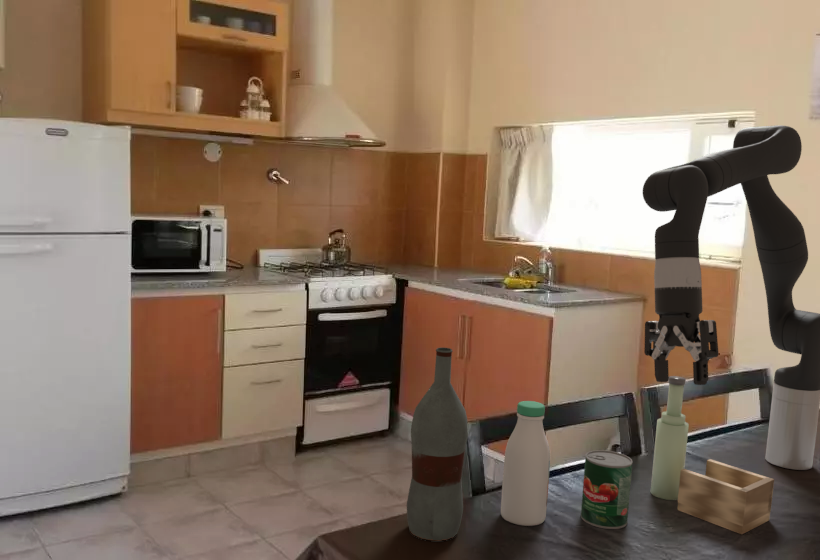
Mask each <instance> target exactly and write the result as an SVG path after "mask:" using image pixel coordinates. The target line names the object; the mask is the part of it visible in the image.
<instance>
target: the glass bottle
mask: <svg viewBox="0 0 820 560" xmlns="http://www.w3.org/2000/svg"><path fill="white" fill-rule="evenodd" d="M686 380H687V379H686V378H685V377H683V376H677V375H669V380H668V381H667V382H668V393H667V402H666V403H667V404H666V410H665V411H662V412H661V417H660V418H657V420H656V429H655V430H656V431H655V439H654V452H653V462H652V473H651V482H650V483H651V484H650V494H651V495H652V496H654V497H656V498H658V499H661V500H665V501H666V500H667V501H678V492H679V482H680V472H681V470H682V469H685V466H686V456H687V454H686V453H687V445H688V435H689V434H688V433H689V426H690V425H689V422H686V415H685V414H683V413H682V411H683V410H682V409H683V398H684V387H685V385H686Z"/></svg>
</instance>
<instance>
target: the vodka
mask: <svg viewBox="0 0 820 560" xmlns="http://www.w3.org/2000/svg"><path fill="white" fill-rule="evenodd" d="M435 353H436V354H435V363H434V365H435V366H434V378H433V379H434V380H433V383H432V384H431V386H430V387H429V388H428V390H427V391H426V393H425V394H424V395H423V397H422V398H421V399H420V401H419V402H418V404H417V405H416V407H415V409H414V412H413V414H412V415H413V416H412V421H411V427H410V437H411V438H410V440H411V441H410V443H411V479H410V485H409V489H408V494H407V500H406V517H407V524H408V529H409V532H410V531H411V532H412V533H413V534H415V535H416V536H419V537H422V538H426V539H433V540H442V539H448V538H451V537H454V536H455V535H456V534H457V535H458V532H459V529H460V526H461V522H462V518H463V517H462V516H463V512H464V499H463V487H462V485H463V484H462V476H463V469H464V461H465V454H466V446H467V441H468V436H469V431H468V430H469V429H468V427H469V426H468V425H469V424H468V417H467V412H466V409H465V406H464V405H463V403H462V401H461V399H460V397H459V396H458V393H457V392H456V390H455V388H454V387H453V385H452V383H451V382H452V381H451V376H452V357H453V356H452V355H453V349H452V348H450V347H437V348H436V349H435ZM457 535H456V536H457ZM456 536H455V537H456ZM455 537H454V538H455Z"/></svg>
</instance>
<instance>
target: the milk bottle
mask: <svg viewBox="0 0 820 560" xmlns="http://www.w3.org/2000/svg"><path fill="white" fill-rule="evenodd" d="M545 409H546V406H545V404H543V403H541V402H538V401H535V400H523V401H519V402H518V403H517V407H516V416H517V421H516V424H515V427H514V429H513V431H512V433H511V434H510V436H509V439H508V440H507V443H506V447H505V451H504V458H503V459H504V461H503V472H502V487H501V498H500V499H501V500H500V515H501V518H502V519H504V520H505V521H506V522H508V523H511V524H515V525H518V526H523V527H524V526H526V527H527V526H528V527H533V526H538V525H541V524H542V523H543V522H545V520H546V516H547V510H548V509H547V507H548V496H549V482H550V481H549V480H550V471H551V469H550V467H551V466H550V465H551V448H550V445H549V440H548V438H547V436H546V433H545V430H544V425H543V422H544V421H543V420H544V419H545V411H546V410H545Z"/></svg>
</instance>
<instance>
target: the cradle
mask: <svg viewBox="0 0 820 560" xmlns="http://www.w3.org/2000/svg"><path fill="white" fill-rule="evenodd" d="M705 465H706V467H705V474H701V473H698V472H694V471H692V470H689V469H686V468H684V469H682V470H681V472H680V482H679V492H678V500H677V511H679V512H681V513H684V514H687V515H689V516H692V517H695V518H698V519H701V520H702V521H705V522H708V523H710V524H713V525H716V526H719V527H722V528H724V529H727V530H728V531H732V532H735V533H737V534H739V535H744V534H745V533H747V532H749V531H752V530H754V529H756V528H758V527H759V526H761V525H763V524H765V523H767V522H768V521H770V518H771V517H770V516H771V510H772V504H773V503H772V502H773V494H774V484H775V479H774V478H771V477H768V476H765V475H762V474H758V473H756V472H752V471H750V470H746V469H742V468H740V467H736V466H733V465H730V464H727V463H724V462H721V461H718V460H715V459H711V458H709V459H707V460H706V464H705Z"/></svg>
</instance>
